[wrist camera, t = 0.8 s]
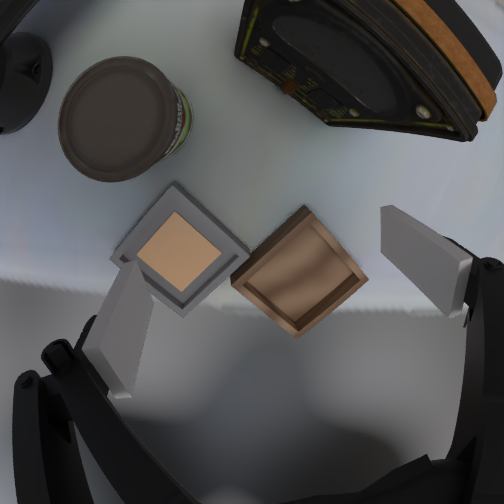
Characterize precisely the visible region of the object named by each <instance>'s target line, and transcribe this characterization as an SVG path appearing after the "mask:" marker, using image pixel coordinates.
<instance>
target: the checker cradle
mask: <svg viewBox="0 0 504 504" xmlns="http://www.w3.org/2000/svg"><path fill="white" fill-rule="evenodd" d="M249 257H250V252H249V248H247V247H246V246H245V245H244V244H243V243H242V242H241V241H240V240H239V239H238V238H237V237H236V236H234V235H233V234H232V233H231V232H230V231H229V230H228V229H227V228H226V227H225V226H224V225H223V224H221V223H220V222H219V221H218V220H217V219H216V218H215V217H214V216H213V215H212V214H211V213H209V212H208V211H207V210H206V209H205V208H204V207H203V206H202V205H201V204H200V203H199V202H198V201H196V200H195V199H194V198H193V197H192V196H191V195H190V194H189V193H188V192H187V191H186V190H185V189H183V188H182V187H181V186H180V185H179V184H178V183H177V182H176V181H175V182H174V183H173V184H172V185H171V186H170V187H169V188H168V189H167V191H166V192H165V193H164V194H163V195H162V196H161V197H160V198H159V199H158V201H157V202H156V203H155V204H154V205H153V206H152V207H151V209H150V210H149V211H148V212H147V213H146V214H145V215H144V217H143V218H142V219H141V220H140V221H139V223H138V224H137V225H136V226H135V227H134V228H133V230H132V231H131V232H130V233H129V235H128V236H127V237H126V238H125V239H124V241H123V242H122V243H121V244H120V246H119V247H118V248H117V249H116V251H115V252H114V253H113V255H112V256H111V257H110V260H111V261H112V262H113V263H114V264H116V265H117V266H118V267H119V268H120V269H121V268H122V266H123V264H124V263H126V262H130V261H135V260H137V262H138V264H139V267H140V270H141V272H142V275H143V277H144V280H145V282H146V285H147V287H148V290H149V292H150V293H151V294H152V295H154V296H155V297H156V298H157V299H159V300H160V301H161V302H163V303H164V304H165V305H167V306H168V307H169V308H170V309H172V310H173V311H174V312H176V313H177V314H179V315H180V316H181V317H182V318H184V317H185V316H186V315H187V314H188V313H189V312H190V311H191V310H193V308H195V307H196V306H197V305H198V304H199V303H200V302H201V301H202V300H203V299H205V298H206V297H207V296H208V295H209V294H210V293H211V292H212V291H213V290H214V289H215V288H217V287H218V286H219V285H220V284H221V283H222V282H223V281H224V280H225V279H226V278H227V277H229V276H230V275H231V274H232V273H233V272H234V271H235V270H236V269H237V268H238V267H239V266H240V265H242V264H243V263H244V262H245V261H246V260H247V259H248V258H249Z"/></svg>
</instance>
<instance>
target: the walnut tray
mask: <svg viewBox="0 0 504 504" xmlns="http://www.w3.org/2000/svg"><path fill="white" fill-rule="evenodd" d="M230 278H231V286H232V287H233V288H235V289H236V290H237V291H238V292H239V293H241V294H242V295H243V296H244V297H246V298H247V299H248V300H249V301H250V302H252V303H253V304H254V305H255V306H256V307H258V308H259V309H260V310H261V311H263V312H264V313H265V314H266V315H268V316H269V317H270V318H271V319H273V320H274V321H275V322H276V323H278V324H279V325H280V326H281V327H283V328H284V329H285V330H286V331H288V332H289V333H290V334H292V335H293V336H294V337H295V338H297V339H299V337H301V336H302V335H304V334H305V333H306V332H307V331H309V330H310V329H311V328H312V327H314V326H315V325H316V324H318V323H319V322H320V321H321V320H322V319H324V318H325V317H326V316H327V315H329V314H330V313H331V312H332V311H333V310H335V309H336V308H337V307H338V306H339V305H341V304H342V303H343V302H344V301H345V300H346V299H348V298H349V297H350V296H351V295H352V294H353V293H355V292H356V291H357V290H358V289H359V288H360V287H361V286H363V285H364V284H365V283H366V282H367V281H368V280H369V279H368V278H367V276H366V275H365V274H364V273H363V271H362V270H361V269H360V268H359V267H358V265H357V264H356V263H355V262H354V261H353V259H352V258H351V257H350V256H349V255H348V253H347V252H346V251H345V250H344V249H343V248H342V246H341V245H340V244H339V243H338V242H337V241H336V239H335V238H334V237H333V236H332V235H331V234H330V232H329V231H328V230H327V229H326V228H325V227H324V226H323V224H322V223H321V222H320V221H319V220H318V219H317V218H316V217H315V215H314V214H313V213H312V212H311V211H310V210H309V209H308V208H307V207H306V206H305V205H303V206H302V207H301V208H300V209H299V210H298V211H297V212H296V213H295V214H293V215H292V216H291V217H290V218H289V219H288V220H287V221H286V222H285V223H284V224H283V225H282V226H280V227H279V228H278V229H277V230H276V231H275V232H274V233H273V234H272V235H271V236H270V237H269V238H267V239H266V240H265V241H264V242H263V243H262V244H261V245H260V246H259V247H258V248H257V249H255V250H254V251H253V252H252V253H251V254H250V257H249V258H248V259H247V260H246V261H245V262H244V263H243V264H242V265H240V266H239V267H238V268H237V269H236V270H235V271H234V272H233V273H232V274H231V275H230Z"/></svg>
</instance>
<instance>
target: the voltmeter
mask: <svg viewBox="0 0 504 504" xmlns="http://www.w3.org/2000/svg"><path fill="white" fill-rule="evenodd" d="M234 53H235V54H234V55H235V57H236V58H238V59H239V60H241V61H242V62H244V63H245V64H247V65H248V66H250V67H251V68H253V69H254V70H256V71H257V72H259V73H260V74H262V75H263V76H265V77H266V78H267V79H269V80H270V81H272V82H273V83H274V84H276V85H277V86H278V87H280V88H281V89H282V91H283V92H284V93H286V94H288V95H291V96H292V97H293V98H295V99H296V100H297V101H298V102H300V103H301V104H302V105H304V106H305V107H306V108H307V109H309V110H310V111H311V112H312V113H313V114H315V115H316V116H317V117H318V118H320V119H321V120H322V121H323V122H324V123H326V124H327V125H329V126H332V127H350V128H363V129H375V130H385V131H394V132H402V133H410V134H418V135H424V136H431V137H437V138H443V139H449V140H454V141H460V142H466V141H469V142H471V141H473V139H474V138H475V136H476V135H477V133H478V128H477V126H476V124H477V122H478V121H482V122H484V121H487V119H488V118H489V116H490V114H491V112H492V110H493V109H494V107H495V105H496V103H497V98H496V94H495V92H494V91H495V89H496V87H497V85H498V83H499V81H500V79H501V77H502V74H503V73H502V66H501V63H500V61H499V59H498V57H497V56H496V54H495V53H494V51H493V50H492V48H491V47H490V45H489V44H488V42H487V41H486V40H485V38H484V37H483V35H482V34H481V33H480V31H479V30H478V29H477V27H476V26H475V25H474V23H473V22H472V21H471V20H470V18H469V17H468V16H467V15H466V13H465V12H464V11H463V10H462V8H461V7H460V6H459V5H458V4H457V3H456V1H455V0H245V2H244V6H243V11H242V16H241V21H240V26H239V31H238V36H237V41H236V46H235V51H234Z"/></svg>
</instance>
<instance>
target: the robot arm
mask: <svg viewBox="0 0 504 504" xmlns="http://www.w3.org/2000/svg"><path fill="white" fill-rule="evenodd" d="M38 1H39V0H0V135H2V134H8V133H12V132H15V131H17V130H19V129H21V128H22V127H24V126H25V125H26V124H27V123H28V122H29V121H30V120H31V119H32V118H33V117H34V115H35V114H36V113H37V111H38V110H39V108H40V107H41V105H42V103H43V101H44V99H45V97H46V94H47V91H48V88H49V85H50V81H51V76H52V56H51V52H50V49H49V47H48V45H47V44H46V42H45V41H44V40H43V39H42V38H40V37H38V36H36V35H33V34H30V33H26V32H18V33H13V34H11V33H12V32H13V30H14V29H15V28H16V27H17V25H18V24H19V23H20V22H21V21H22V19H23V18H24V17H25V16H26V15H27V14H28V12H29V11H30V10H31V9H32V8H33V7H34V6H35V5H36V4H37V2H38ZM380 212H381V253H382V254H383V255H384V256H385V257H386V258H387V259H389V260H390V261H391V262H392V263H393V264H394V265H395V266H396V267H397V268H398V269H399V270H400V271H401V272H402V273H403V274H404V275H405V276H406V277H407V278H408V279H410V280H411V281H412V282H413V283H414V284H415V285H416V286H417V287H418V288H419V289H420V290H421V291H422V292H423V293H424V294H425V295H426V296H427V297H428V298H429V299H430V300H431V301H432V302H433V303H434V304H435V306H436V307H437V308H438V309H439V310H440V311H441V312H442V313H443V314H444V315H445V316H446V317H447V318H448V319H450V318H452V317H454V316H457V315H459V314H461V311H462V307H463V303H464V302H465V303H466V304H467V305H468V306H469V308H468V312H467V316H466V319H465V323H464V326H463V327H466V325H467V337H466V354H465V365H464V375H463V384H462V392H461V399H460V406H459V412H458V417H457V422H456V427H455V432H454V437H453V441H452V445H451V448H450V450H449V452H448V454H447V456H446V458H445V459H439V460H432V461H430V459H429V457H428V455H427V454H426V455H424V456H422V457H420V458H418V459H415V460H413V461H411V462H409V463H407V464H405V465H402V466H400V467H398V468H396V469H393V470H392V471H391V472H389V473H388V474H386V475H385V476H384V477H382V478H380V479H379V480H377V481H376V482H374V483H373V484H371V485H370V486H368V487H367V488H365V489H363V490H362V491H359V492H355V493H347V494H346V493H345V494H333V495H316V496H312V497H308V498H303V499H299V500H295V501H290V502H285V503H280V504H504V264H503V263H502V262H501V261H499V260H497V259H495V258H491V257H485V258H481V259H480V258H478V257H477V256H476V255H474V254H473V253H471V252H470V251H468V250H467V249H466V248H464V247H463V246H461V245H459V244H458V243H457V242H455V241H454V240H452V239H450V238H447V237H445V236H441V235H440V234H438V233H437V232H435V231H434V230H432V229H431V228H429V227H428V226H426V225H424V224H423V223H421V222H420V221H418V220H416V219H415V218H413V217H411V216H410V215H408V214H407V213H405V212H403V211H402V210H400V209H398V208H397V207H395V206H393V205H388V206H383V207H380ZM153 306H154V302H153V300H152V297H151V295H150V292H149V290H148V287H147V285H146V282H145V280H144V277H143V275H142V272H141V270H140V267H139V264H138V262H137V260H135V261H130V262H126V263H124V264H123V266H122V268H121V269H120V271H119V273H118V275H117V277H116V279H115V281H114V283H113V285H112V286H111V288H110V290H109V292H108V294H107V296H106V298H105V300H104V302H103V304H102V307H101V309H100V310H99V312H98V315H93V316H92V317H91V318H90V319H89V320H88V322H87V323H86V325H85V326H84V329H83V332H82V333H81V335H80V338H79V339H78V341H77V343H76V345H75V347H74V349H73V348H72V346H71V345H70V343H69V342H68V341H67V340H66V339H58V340H55V341H53V342H51V343H50V344H49V345H48V346H46V348H45V349H44V350H43V352H42V354H41V359H42V361H43V362H44V364H45V365H46V366H47V368H48V369H49V371H50V372H51V373H52V374H51V375H48V376H45V377H42V378H41V377H40V376H39V374H38V373H37V372H36V371H34V370H29V371H26V372H24V373H22V374H21V375H20V376H19V377H18V379H17V380H16V382H15V385H14V397H13V418H12V420H13V422H12V445H13V465H14V478H15V487H16V496H17V503H18V504H94V502H93V499H92V496H91V492H90V489H89V486H88V483H87V479H86V476H85V472H84V468H83V464H82V460H81V456H80V453H79V448H78V443H77V439H76V434H75V428H74V424H73V421H74V422H75V425H76V426H77V428H78V430H79V432H80V434H81V436H82V438H83V439H84V441H85V443H86V445H87V447H88V448H89V450H90V452H91V453H92V455H93V457H94V458H95V460H96V461H97V463H98V465H99V467H100V468H101V469H102V471H103V473H104V474H105V476H106V477H107V479H108V480H109V482H110V483H111V485H112V486H113V488H114V489H115V490H116V492H117V493H118V495H119V496H120V497H121V499H122V500H123V501H124V503H125V504H201V503H200V502H199V501H198V500H196V498H194V497H193V496H192V495H191V494H190V493H189V492H188V491H187V490H186V489H185V488H184V487H183V486H182V485H181V484H180V483H179V482H178V481H177V480H176V479H175V478H174V477H173V476H172V475H171V474H170V473H169V472H168V471H167V470H166V469H165V468H164V467H163V466H162V464H161V463H160V462H159V461H158V460H157V459H156V458H155V457H154V456H153V455H152V453H151V452H150V451H149V450H148V449H147V448H146V446H145V445H144V444H143V443H142V442H141V440H140V439H139V438H138V437H137V436H136V434H135V433H134V432H133V431H132V429H131V428H130V427H129V426H128V424H127V423H126V422H125V421H124V419H123V418H122V417H121V415H120V414H119V413H118V411H117V410H116V409H115V407H114V406H113V404H112V403H111V402H110V400H109V399H108V398H107V395H108V391H109V390H110V391H111V392H112V394H113V395H114V396H115V398H130V397H132V396H133V390H134V386H135V381H136V376H137V372H138V367H139V363H140V358H141V354H142V349H143V345H144V341H145V337H146V333H147V329H148V325H149V321H150V317H151V313H152V309H153Z"/></svg>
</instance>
